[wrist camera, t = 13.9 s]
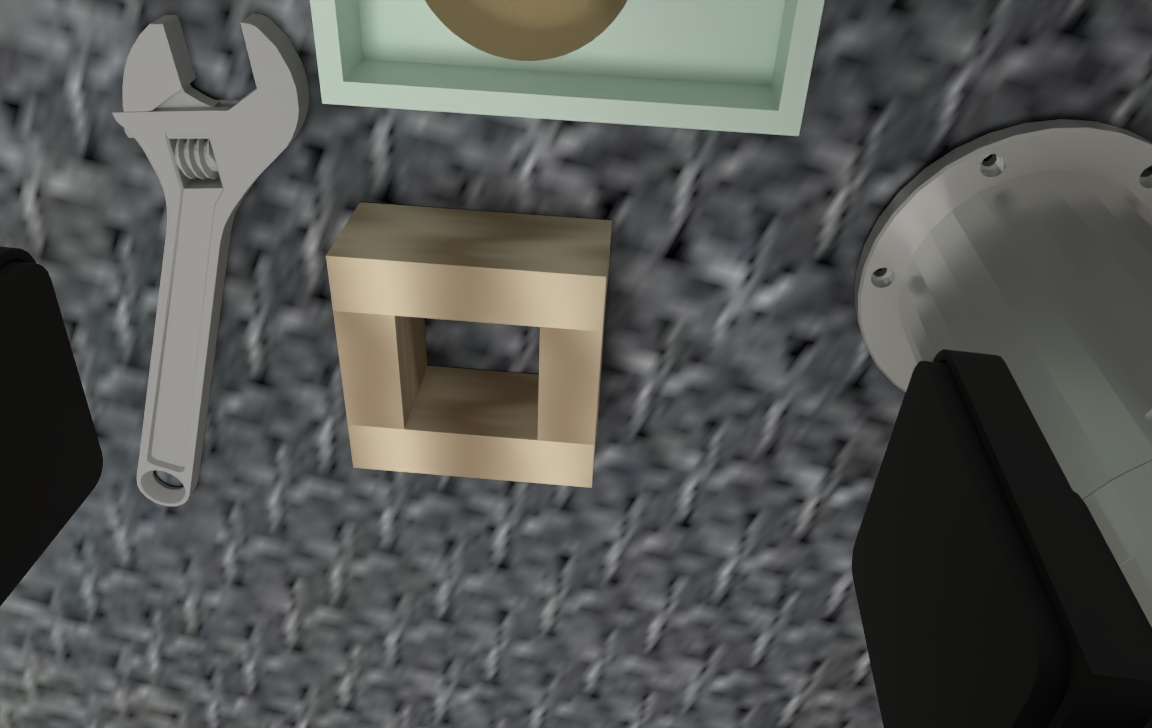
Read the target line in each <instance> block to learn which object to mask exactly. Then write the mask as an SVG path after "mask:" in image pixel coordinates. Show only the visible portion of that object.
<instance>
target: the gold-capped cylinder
mask: <svg viewBox="0 0 1152 728" xmlns="http://www.w3.org/2000/svg"><path fill="white" fill-rule="evenodd" d="M425 1H426V3H427V5H428V6H429V8H430V9H431V10H432V11H433V13H434V14H435V15H436V16H437V17H438V19H439V20H440V21H441V22H442V23H443V24H444V25H445V26H446V27H447V28H448V29H449V30H450V31H451V32H452V33H454V34H455V35H457V36H458V37H459V38H461V39H462V40H463V41H465V42H466V43H468V44H470V45H472V46H473V47H475V48H477V49H479V50H481V51H484V52H486V53H489V54H491V55H494V56H498V57H501V58H505V59H511V60H518V61H539V60H547V59H552V58H556V57H559V56H563V55H566V54H568V53H571V52H573V51H575V50H578V49H580V48H581V47H583V46H585V45H586V44H588V43H590V42H591V41H593V40H594V39H595V38H596V37H598V36H599V35H600V34H601V33H603V32H604V31H605V30H606V29H607V27H608V26H609V25H610V24H611V23H612V22H613V21H614V20H615V19H616V17H617V16H618V15H619V13H620V12H621V10H622V9H623V8H624V6H625V4H626V2H627V0H425Z"/></svg>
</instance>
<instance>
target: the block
mask: <svg viewBox="0 0 1152 728" xmlns="http://www.w3.org/2000/svg"><path fill="white" fill-rule="evenodd" d="M611 229H612V220H599V219H585V218H572V217H558V216H544V215H530V214H516V213H503V212H489V211H475V210H461V209H447V208H434V207H420V206H406V205H392V204H379V203H365V202H360V203H359V205H358V206H357V208H356V210H355V211H354V213H353V214H352V216H351V217H350V219H349V220H348V222H347V224H346V225H345V227H344V228H343V230H342V231H341V233H340V235H339V236H338V238H337V239H336V241H335V242H334V244H333V246H332V247H331V249H330V250H329V252H328V253H327V255H326V260H327V268H328V275H329V283H330V291H331V299H332V306H333V314H334V322H335V329H336V337H337V345H338V352H339V360H340V368H341V376H342V383H343V391H344V399H345V406H346V414H347V422H348V429H349V437H350V445H351V452H352V460H353V468H364V469H376V470H388V471H400V472H412V473H424V474H435V475H447V476H459V477H471V478H483V479H495V480H507V481H519V482H531V483H542V484H554V485H566V486H578V487H590V488H592V478H593V467H594V457H595V446H596V435H597V424H598V411H599V397H600V383H601V369H602V355H603V341H604V327H605V313H606V299H607V285H608V271H609V257H610V243H611ZM425 318H432V319H444V320H457V321H470V322H483V323H496V324H509V325H522V326H535V327H540V350H539V374H526V373H514V372H501V371H489V370H476V369H464V368H451V367H438V366H428V363H427V347H426V331H425Z"/></svg>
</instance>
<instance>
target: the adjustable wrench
mask: <svg viewBox="0 0 1152 728" xmlns="http://www.w3.org/2000/svg"><path fill="white" fill-rule="evenodd" d="M240 23H241V27H242V31H243V35H244V39H245V43H246V47H247V51H248V55H249V59H250V63H251V66H252V70H253V74H254V78H255V82H256V86H257V88H255V89H254V90H253V91H251V92H250V93H249V94H247V95H246V96H245V97H243V98H242V99H241V100H224V99H223V100H214V99H212V98H210V97H207V96H206V95H204V94H202V93H201V92H199V91H197V90H196V89H194V88H192V87H191V85H190V83H191V82H192V81H193V80H195V79H196V76H195V73H194V69H193V66H192V62H191V59H190V55H189V52H188V48H187V45H186V41H185V38H184V34H183V31H182V27H181V24H180V20H179V17H178V15H164V16H162V17H161V18H159V19H157V20H156V21H154V22H152V23H151V24H149V25H148V26H147V27H146V29H145V30H144V31H143V32H142V33H141V34H140V35H139V37H138V39H137V40H136V42H135V43H134V45H133V47H132V49H131V51H130V53H129V55H128V58H127V62H126V65H125V69H124V77H123V105H122V106H121V107H119V108H118V109H116V110H115V111H114V112H112V114H113V115H114V117H115V119H116V121H117V122H118V123H119V124H120V125H121V126H123V127H124V130H125V133H126V134H127V136H128V138H135V139H136V140H137V142H138V143H139V144H140V146H141V147H142V148H143V150H144V152H145V154H146V156H147V157H148V159H149V161H150V163H151V165H152V166H153V168H154V170H155V172H156V174H157V175H158V177H159V180H160V182H161V185H162V187H163V190H164V193H165V199H166V205H167V231H166V239H165V248H164V256H163V264H162V273H161V281H160V289H159V297H158V306H157V314H156V322H155V330H154V339H153V347H152V355H151V364H150V372H149V380H148V388H147V397H146V405H145V413H144V422H143V430H142V438H141V446H140V455H139V463H138V471H137V485H138V487H139V489H140V491H141V492H142V493H143V494H144V495H145V496H146V497H147V498H149V499H150V500H152V501H153V502H155V503H158V504H160V505H165V506H179V505H181V504H184V503H185V502H186V501H187V500H188V499H189V497H190V495H191V494H192V492H193V490H194V489H195V487H196V485H197V483H198V479H199V471H200V464H201V456H202V449H203V441H204V433H205V426H206V418H207V411H208V403H209V395H210V388H211V380H212V373H213V365H214V358H215V350H216V342H217V335H218V327H219V320H220V312H221V304H222V297H223V289H224V282H225V274H226V267H227V259H228V251H229V244H230V236H231V229H232V225H233V221H234V217H235V213H236V211H237V210H238V208H239V206H240V204H241V202H242V200H243V198H244V197H245V195H246V194H247V192H248V191H249V190H250V188H251V187H252V185H253V184H254V183H255V181H256V180H257V178H258V177H259V176H260V175H261V173H262V172H263V171H264V170H265V169H266V168H267V167H268V166H269V165H270V164H271V163H272V162H273V161H274V160H275V159H276V158H277V157H278V156H279V155H280V153H281V152H282V151H283V150H284V149H285V148H286V147H287V146H288V145H289V144H290V143H291V142H292V141H293V139H294V138H295V137H296V136H297V135H298V133H299V132H300V130H301V128H302V126H303V124H304V121H305V119H306V116H307V112H308V108H309V90H308V81H307V75H306V73H305V70H304V67H303V64H302V61H301V59H300V57H299V56H298V54H297V52H296V50H295V48H294V47H293V45H292V43H291V41H290V40H289V38H288V36H287V35H286V34H285V33H284V32H283V31H282V30H281V29H280V28H279V27H278V26H277V25H276V24H275V23H274V22H273V21H272V20H271V19H270V18H269V17H267V16H265V15H262V14H256V13H253V14H252V15H250V16H249V17H247V18H246V19H245V20H243V21H242V22H240ZM219 176H220V177H219ZM153 470H159V471H164V472H167V473H169V474H172V475H173V476H175V477H176V478H178V479H179V480H180V481H181V483H182V484H183V486H184V487H172V486H169V485H166V484H164V483H163V482H161V481H160V480H159V479H158V478H157V477H156V475H155V473H154V471H153Z"/></svg>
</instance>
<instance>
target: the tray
mask: <svg viewBox="0 0 1152 728" xmlns="http://www.w3.org/2000/svg"><path fill="white" fill-rule="evenodd" d="M824 1H825V0H627V2H626V4H625V6H624V8H623V9H622V10H621V12H620V13H619V15H618V16H617V17H616V19H615V20H614V21H613V22H612V23H611V24H610V25H609V26H608V27H607V29H606V30H605V31H604V32H603V33H601V34H600V35H599V36H598V37H596V38H595V39H594V40H593V41H591V42H590V43H588V44H586V45H585V46H583V47H581V48H580V49H578V50H575V51H573V52H571V53H568V54H566V55H563V56H559V57H556V58H552V59H547V60H539V61H518V60H511V59H505V58H501V57H498V56H494V55H491V54H489V53H486V52H484V51H481V50H479V49H477V48H475V47H473V46H472V45H470V44H468V43H466V42H465V41H463V40H462V39H461V38H459V37H458V36H457V35H455V34H454V33H452V32H451V31H450V30H449V29H448V28H447V27H446V26H445V25H444V24H443V23H442V22H441V21H440V20H439V19H438V17H437V16H436V15H435V14H434V13H433V11H432V10H431V9H430V8H429V6H428V5H427V3H426V1H425V0H310V5H311V13H312V22H313V30H314V39H315V47H316V55H317V64H318V72H319V80H320V89H321V97H322V104H336V105H351V106H365V107H380V108H395V109H409V110H424V111H438V112H453V113H468V114H482V115H497V116H512V117H526V118H541V119H555V120H570V121H585V122H599V123H614V124H629V125H643V126H658V127H672V128H687V129H702V130H716V131H731V132H746V133H760V134H775V135H789V136H799V132H800V127H801V122H802V117H803V111H804V106H805V101H806V96H807V90H808V85H809V80H810V74H811V69H812V64H813V59H814V53H815V48H816V43H817V37H818V32H819V27H820V22H821V16H822V11H823V6H824Z"/></svg>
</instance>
